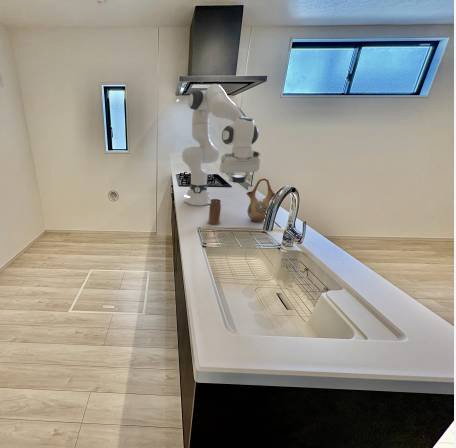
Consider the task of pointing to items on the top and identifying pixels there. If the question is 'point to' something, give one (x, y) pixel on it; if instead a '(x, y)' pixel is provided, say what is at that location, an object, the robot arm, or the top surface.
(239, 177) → the jar lid
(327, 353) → the top surface
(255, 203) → the ceramic vessel
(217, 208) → the coffee jar
